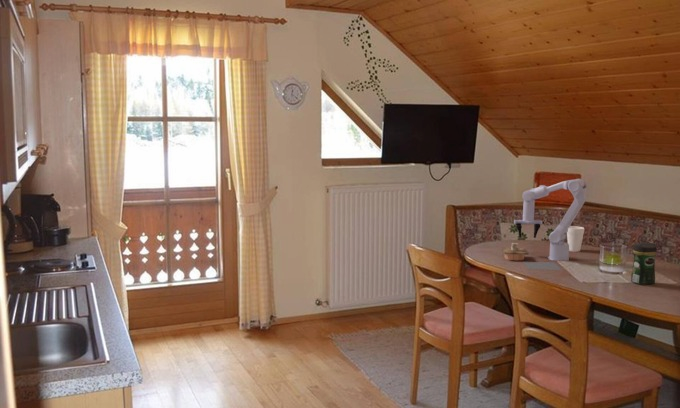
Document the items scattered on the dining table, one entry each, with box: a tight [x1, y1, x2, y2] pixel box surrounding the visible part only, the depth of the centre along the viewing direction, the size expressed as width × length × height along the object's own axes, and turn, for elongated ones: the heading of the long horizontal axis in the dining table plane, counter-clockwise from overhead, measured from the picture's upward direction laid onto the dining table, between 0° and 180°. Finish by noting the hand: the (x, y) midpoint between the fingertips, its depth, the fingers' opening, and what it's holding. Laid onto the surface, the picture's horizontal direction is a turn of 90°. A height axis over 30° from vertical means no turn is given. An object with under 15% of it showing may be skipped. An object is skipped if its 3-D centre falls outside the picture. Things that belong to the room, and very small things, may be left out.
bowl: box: [504, 254, 525, 261], centre depth 332 cm, size 10×10×4 cm
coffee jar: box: [630, 242, 658, 286], centre depth 286 cm, size 10×8×19 cm
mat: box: [521, 260, 562, 271], centre depth 316 cm, size 16×16×1 cm
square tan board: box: [500, 242, 529, 256], centre depth 331 cm, size 12×12×4 cm
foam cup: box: [566, 225, 585, 253], centre depth 354 cm, size 10×9×13 cm
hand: (527, 237), depth 340 cm, fingers open, 7 cm apart
